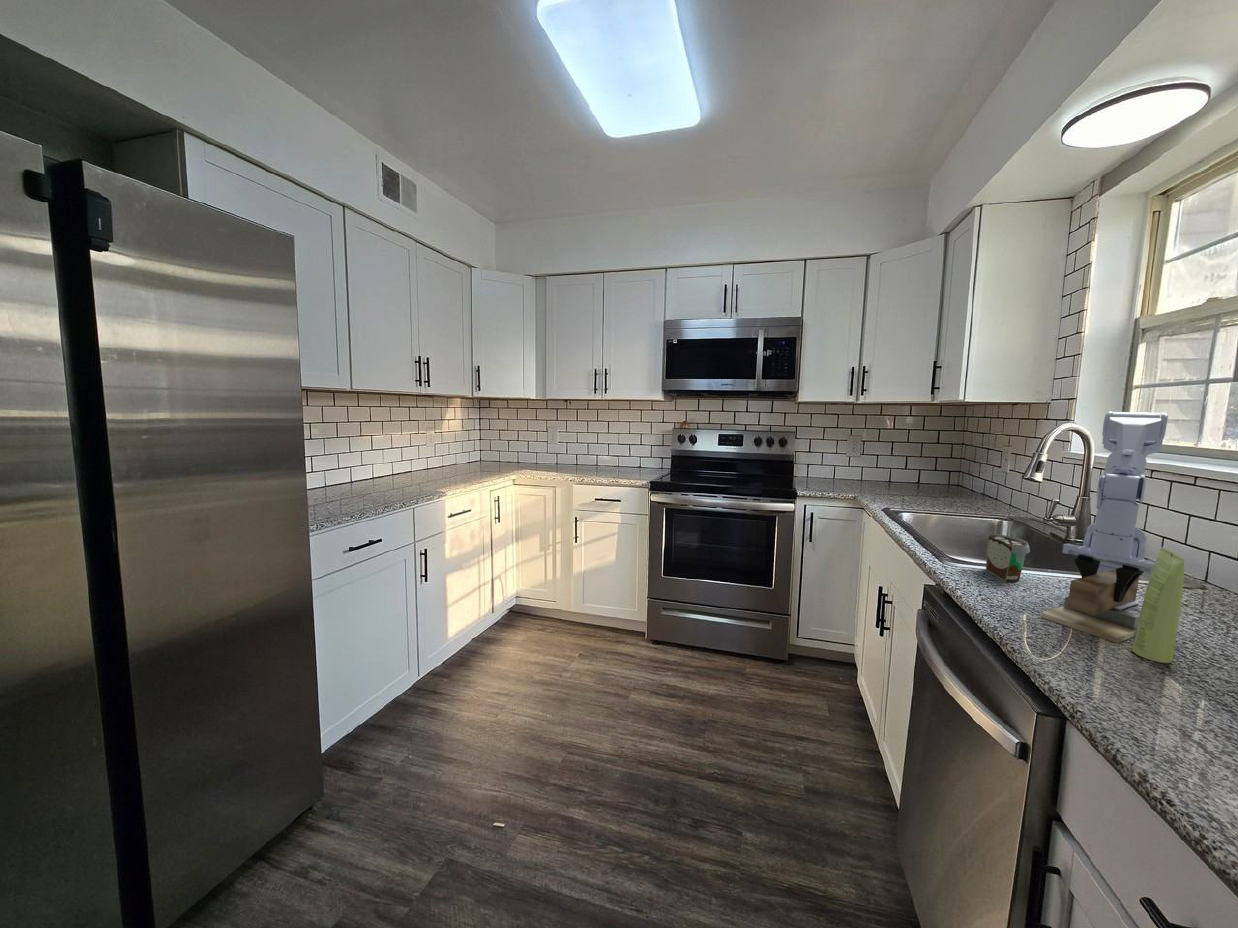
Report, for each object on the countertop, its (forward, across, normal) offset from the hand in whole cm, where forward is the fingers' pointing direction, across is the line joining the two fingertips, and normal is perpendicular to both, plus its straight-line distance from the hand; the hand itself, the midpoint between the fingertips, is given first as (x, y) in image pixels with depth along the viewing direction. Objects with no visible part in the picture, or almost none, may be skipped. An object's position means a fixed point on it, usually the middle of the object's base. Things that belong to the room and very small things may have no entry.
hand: (1103, 596), depth 100 cm
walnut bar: (+2, 0, 0) cm, 2 cm away
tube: (+6, +11, -10) cm, 16 cm away
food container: (+6, -23, +13) cm, 27 cm away
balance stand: (+6, 0, 0) cm, 6 cm away
